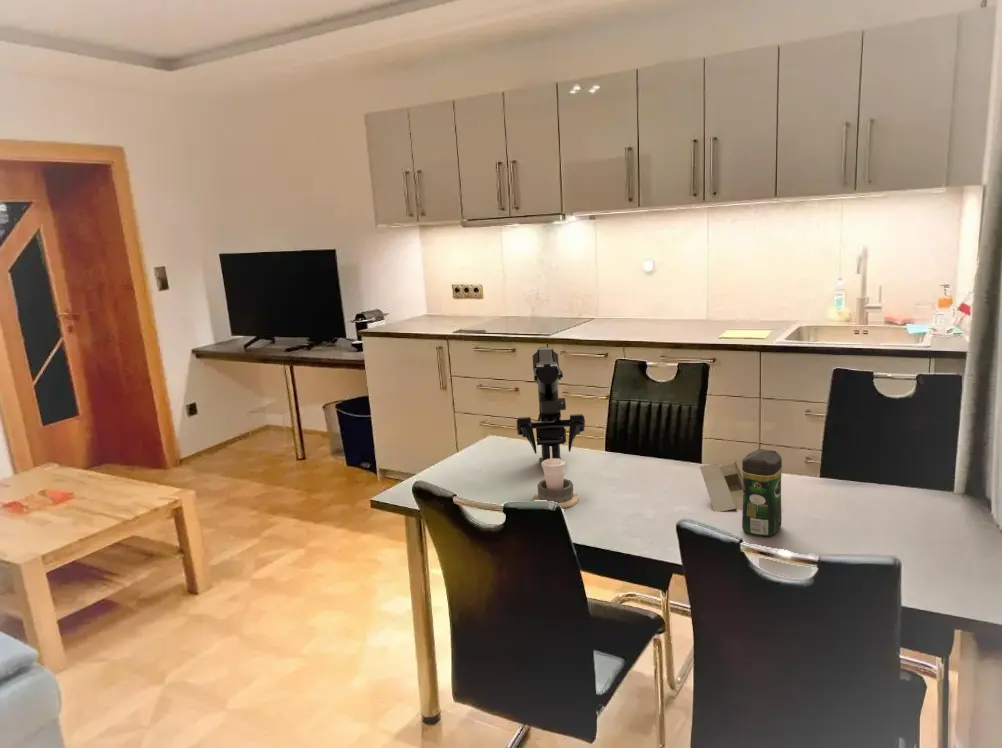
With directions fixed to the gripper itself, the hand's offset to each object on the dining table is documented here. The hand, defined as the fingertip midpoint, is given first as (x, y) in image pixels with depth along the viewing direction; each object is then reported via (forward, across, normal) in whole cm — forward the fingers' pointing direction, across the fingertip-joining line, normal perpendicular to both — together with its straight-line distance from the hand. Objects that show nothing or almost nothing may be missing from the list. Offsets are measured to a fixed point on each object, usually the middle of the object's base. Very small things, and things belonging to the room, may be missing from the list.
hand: (552, 452), depth 193 cm
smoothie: (+12, 0, +3) cm, 12 cm away
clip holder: (+13, 0, +3) cm, 13 cm away
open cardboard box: (+17, +46, -1) cm, 49 cm away
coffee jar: (+29, +46, -13) cm, 56 cm away
